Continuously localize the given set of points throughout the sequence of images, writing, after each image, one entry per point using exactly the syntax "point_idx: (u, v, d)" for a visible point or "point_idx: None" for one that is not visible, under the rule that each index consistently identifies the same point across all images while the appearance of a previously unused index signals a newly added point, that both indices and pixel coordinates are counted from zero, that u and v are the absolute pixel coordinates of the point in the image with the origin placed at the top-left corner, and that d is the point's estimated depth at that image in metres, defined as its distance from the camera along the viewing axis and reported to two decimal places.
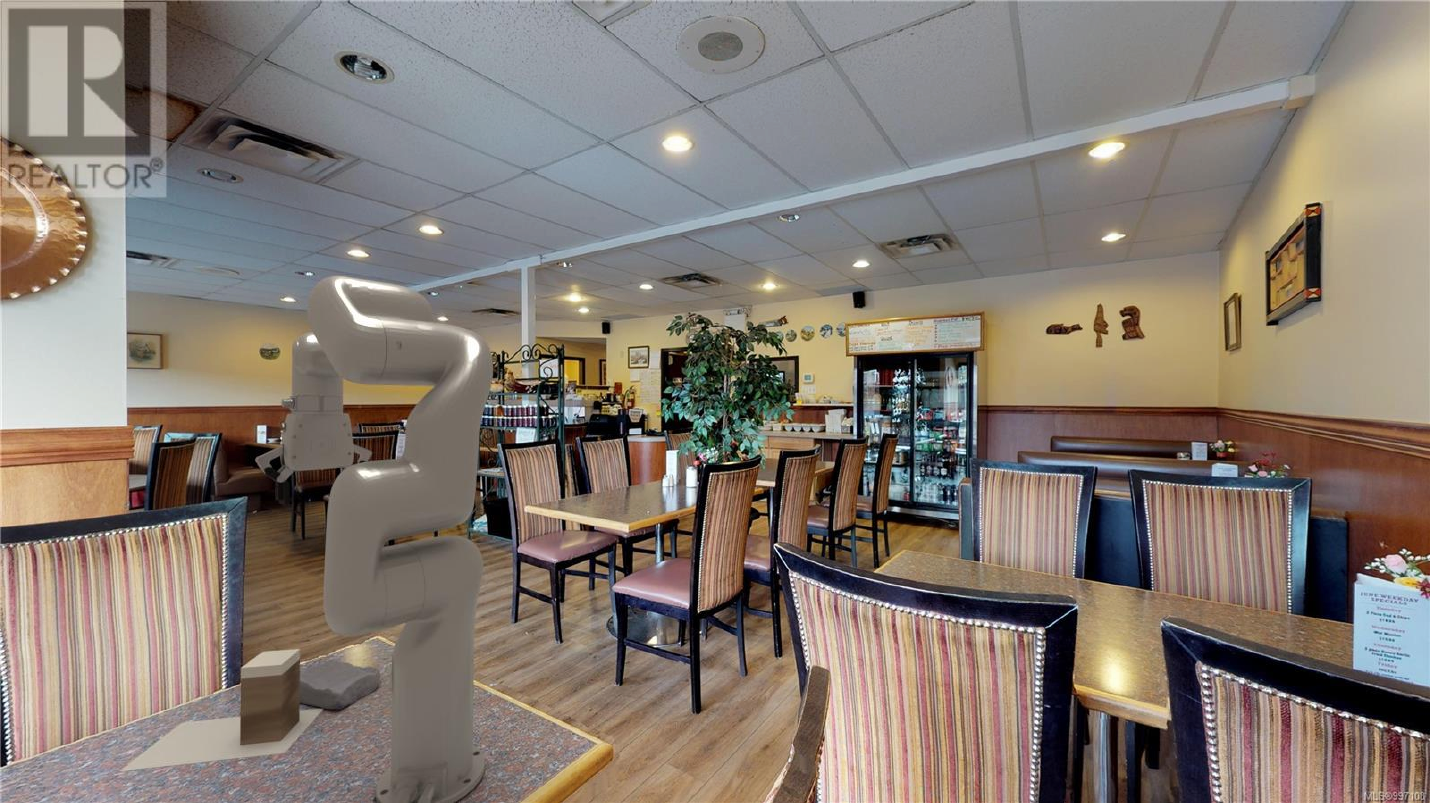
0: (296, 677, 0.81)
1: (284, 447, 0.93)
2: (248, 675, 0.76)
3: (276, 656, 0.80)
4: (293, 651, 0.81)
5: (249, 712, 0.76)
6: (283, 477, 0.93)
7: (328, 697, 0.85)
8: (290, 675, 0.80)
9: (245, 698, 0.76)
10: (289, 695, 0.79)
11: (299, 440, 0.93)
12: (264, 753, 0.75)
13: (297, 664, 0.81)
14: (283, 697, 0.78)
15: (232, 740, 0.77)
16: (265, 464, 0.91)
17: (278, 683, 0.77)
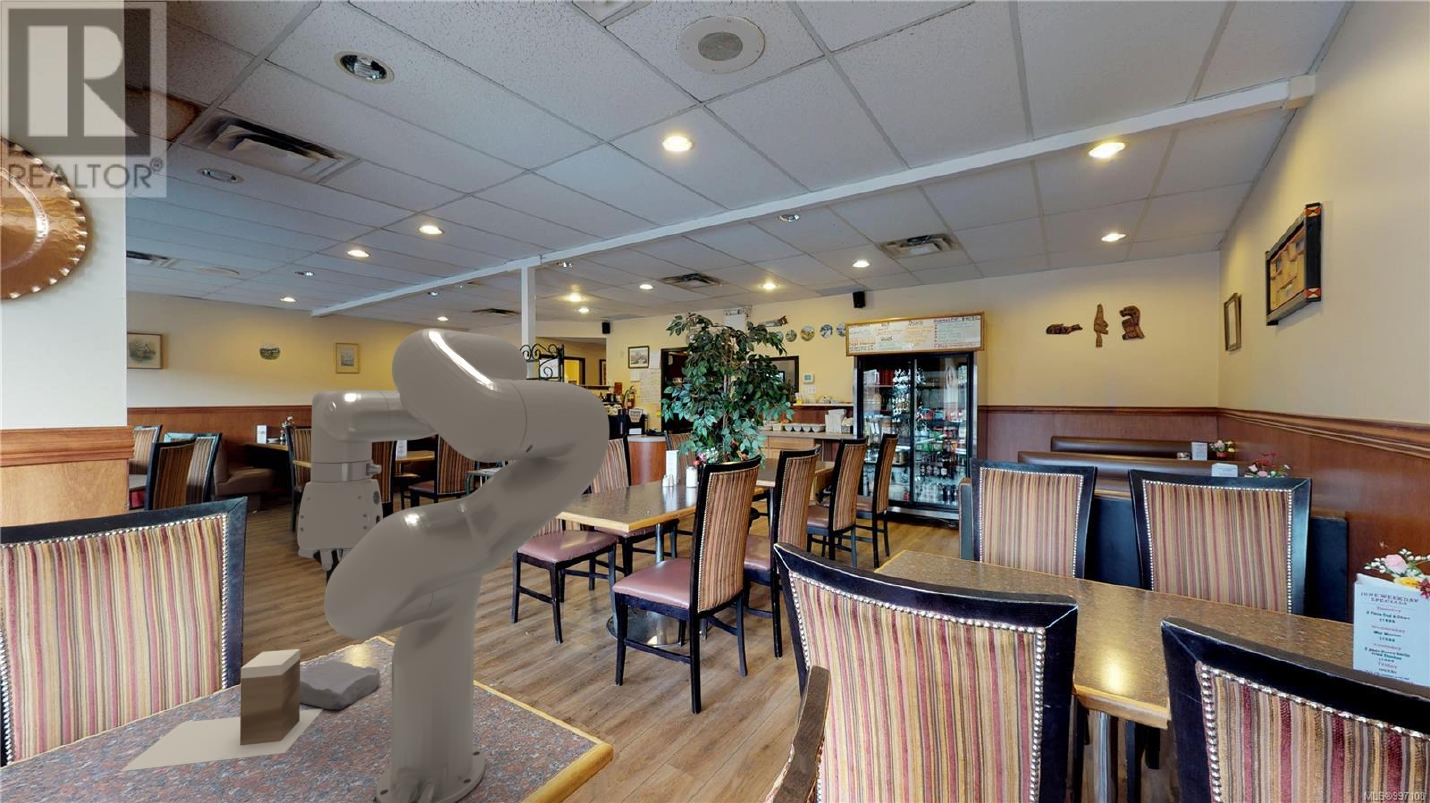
0: (296, 677, 0.81)
1: (380, 517, 0.83)
2: (248, 675, 0.76)
3: (276, 656, 0.80)
4: (293, 651, 0.81)
5: (249, 712, 0.76)
6: None
7: (328, 697, 0.85)
8: (290, 675, 0.80)
9: (245, 698, 0.76)
10: (289, 695, 0.79)
11: None
12: (264, 753, 0.75)
13: (297, 664, 0.81)
14: (283, 697, 0.78)
15: (232, 740, 0.77)
16: None
17: (278, 683, 0.77)
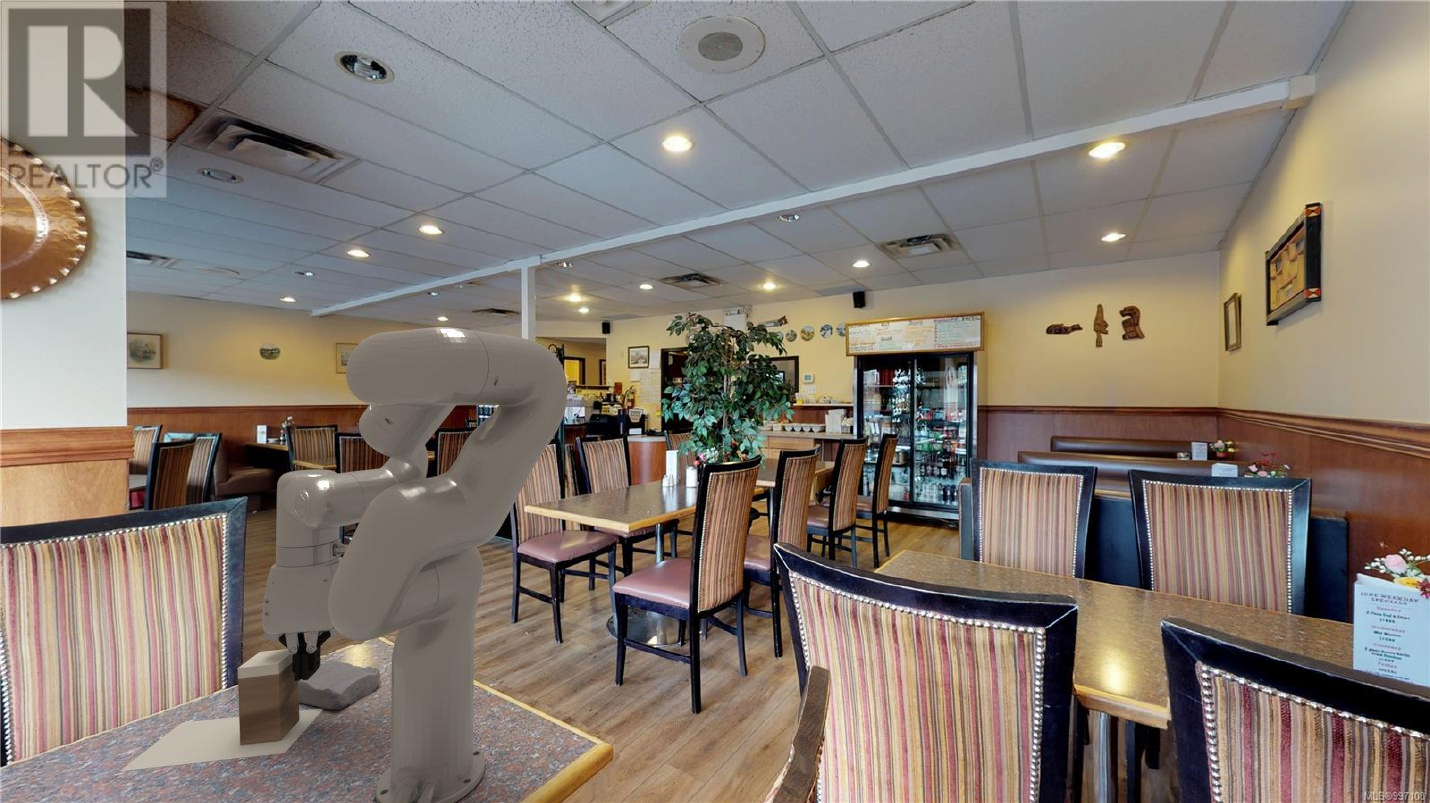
0: None
1: None
2: (245, 675, 0.76)
3: (272, 655, 0.80)
4: None
5: (248, 711, 0.76)
6: None
7: (328, 697, 0.85)
8: (288, 674, 0.80)
9: (243, 698, 0.76)
10: (287, 694, 0.79)
11: None
12: (264, 753, 0.75)
13: None
14: (281, 696, 0.78)
15: (232, 740, 0.77)
16: None
17: (275, 682, 0.77)
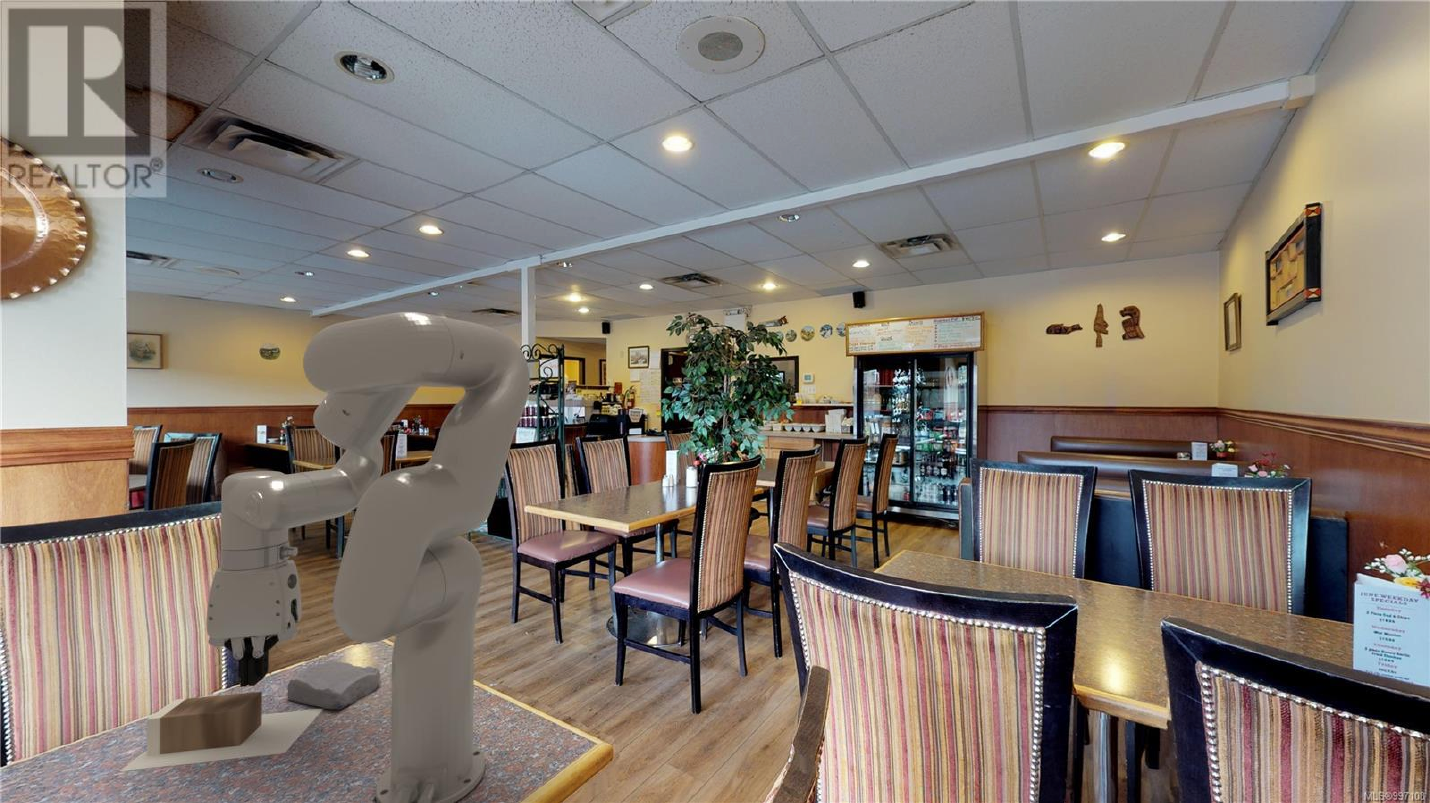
0: (201, 700, 0.79)
1: (297, 600, 0.81)
2: (157, 747, 0.74)
3: None
4: None
5: (201, 741, 0.75)
6: None
7: (328, 697, 0.85)
8: (183, 707, 0.77)
9: (184, 747, 0.75)
10: (206, 705, 0.77)
11: None
12: (264, 753, 0.75)
13: (187, 700, 0.78)
14: (192, 712, 0.75)
15: None
16: None
17: (169, 719, 0.74)
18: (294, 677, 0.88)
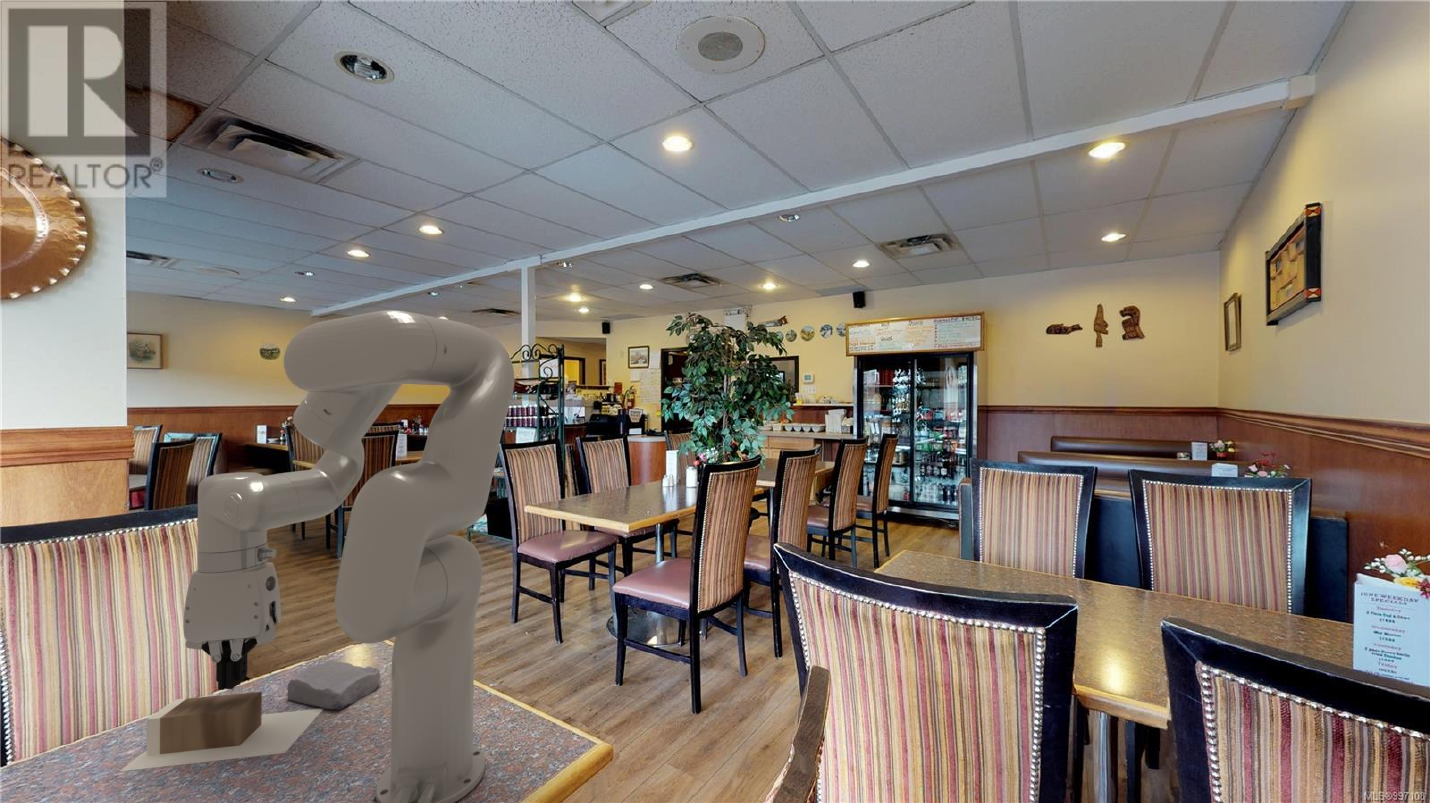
0: (201, 700, 0.79)
1: (276, 602, 0.80)
2: (157, 747, 0.74)
3: None
4: None
5: (201, 741, 0.75)
6: None
7: (328, 697, 0.85)
8: (183, 707, 0.77)
9: (184, 747, 0.75)
10: (206, 705, 0.77)
11: None
12: (264, 753, 0.75)
13: (187, 700, 0.78)
14: (192, 712, 0.75)
15: None
16: None
17: (169, 719, 0.74)
18: (294, 677, 0.88)
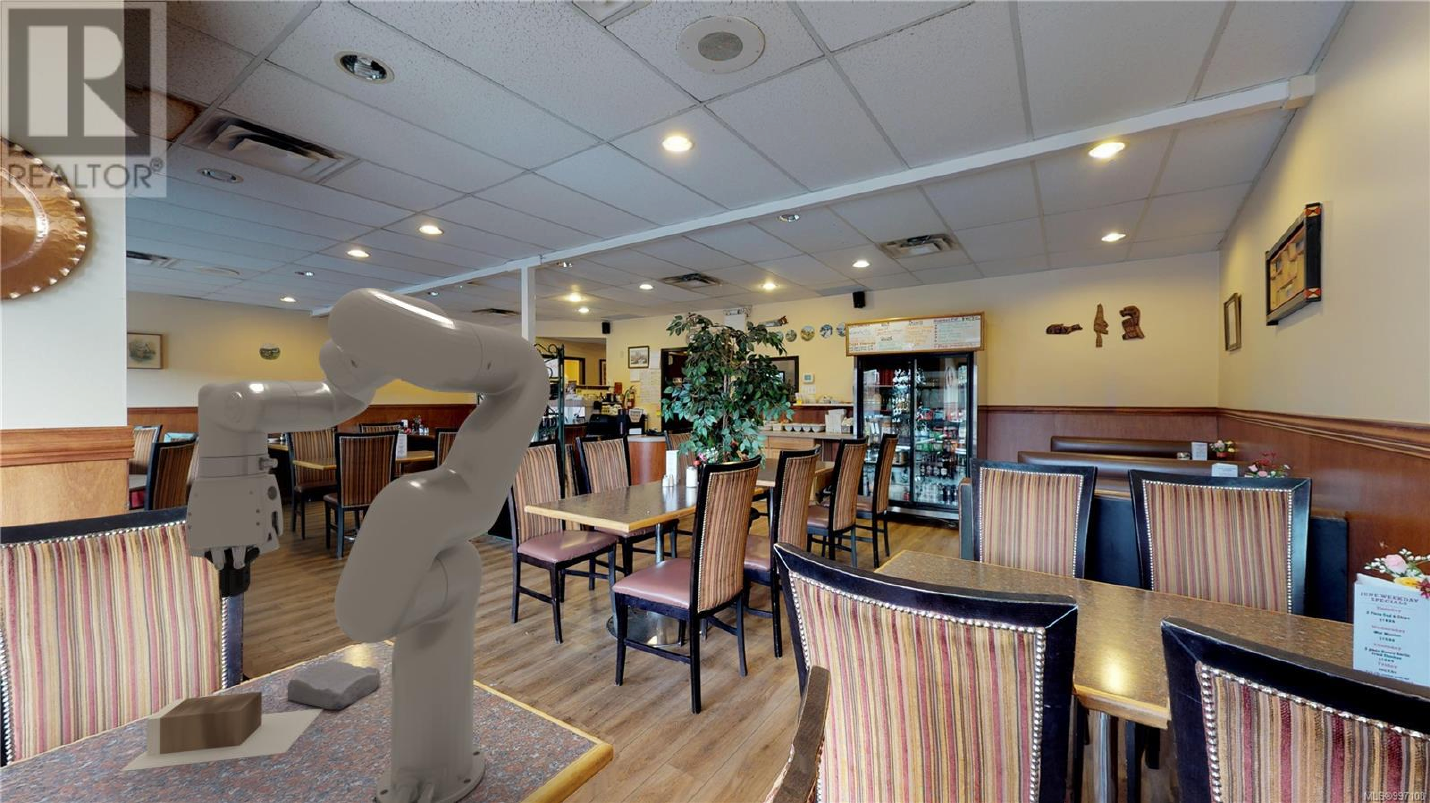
0: (201, 700, 0.79)
1: (278, 513, 0.80)
2: (157, 747, 0.74)
3: None
4: None
5: (201, 741, 0.75)
6: None
7: (328, 697, 0.85)
8: (183, 707, 0.77)
9: (184, 747, 0.75)
10: (206, 705, 0.77)
11: None
12: (264, 753, 0.75)
13: (187, 700, 0.78)
14: (192, 712, 0.75)
15: None
16: None
17: (169, 719, 0.74)
18: (294, 677, 0.88)
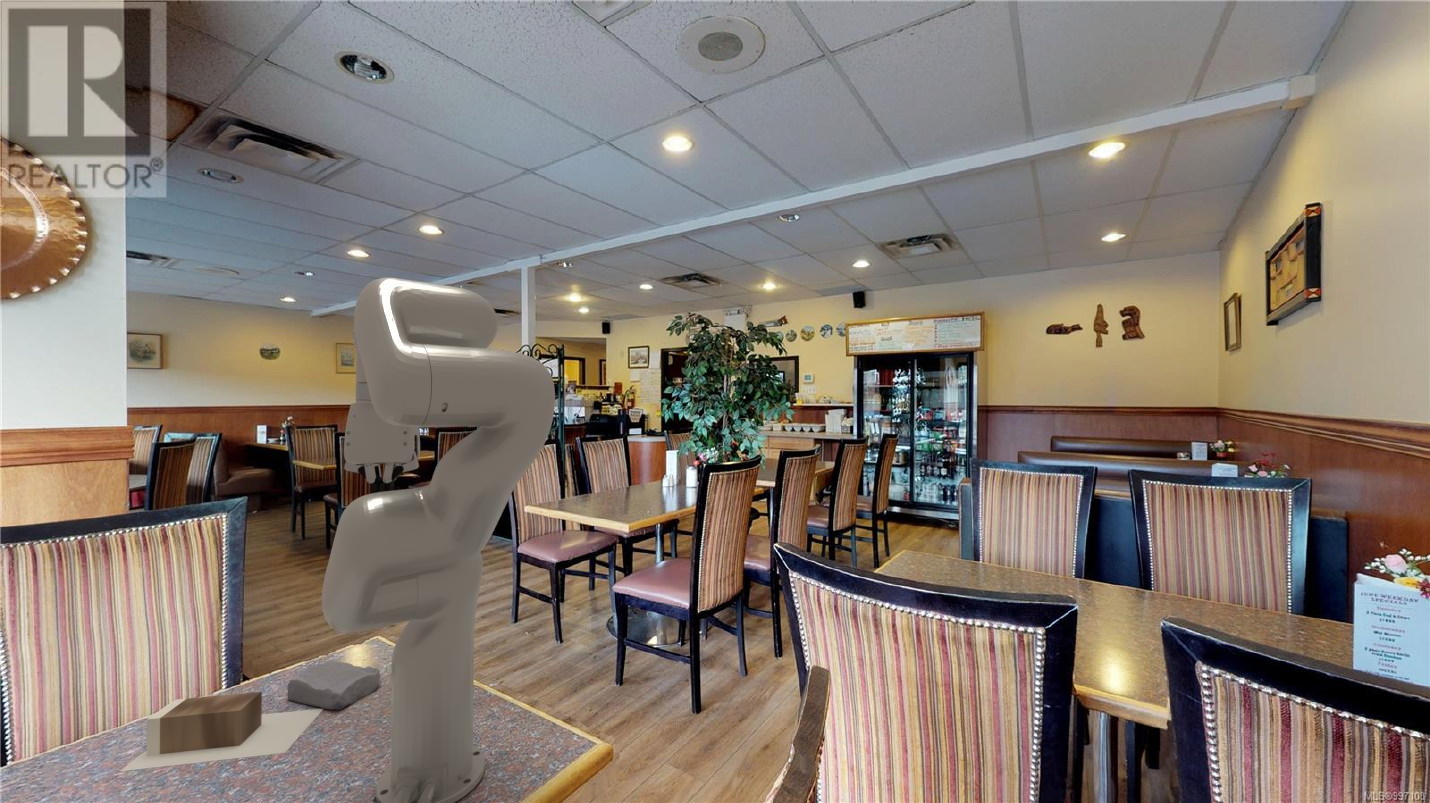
0: (201, 700, 0.79)
1: (418, 437, 0.91)
2: (157, 747, 0.74)
3: None
4: None
5: (201, 741, 0.75)
6: None
7: (328, 697, 0.85)
8: (183, 707, 0.77)
9: (184, 747, 0.75)
10: (206, 705, 0.77)
11: None
12: (264, 753, 0.75)
13: (187, 700, 0.78)
14: (192, 712, 0.75)
15: None
16: None
17: (169, 719, 0.74)
18: (294, 677, 0.88)
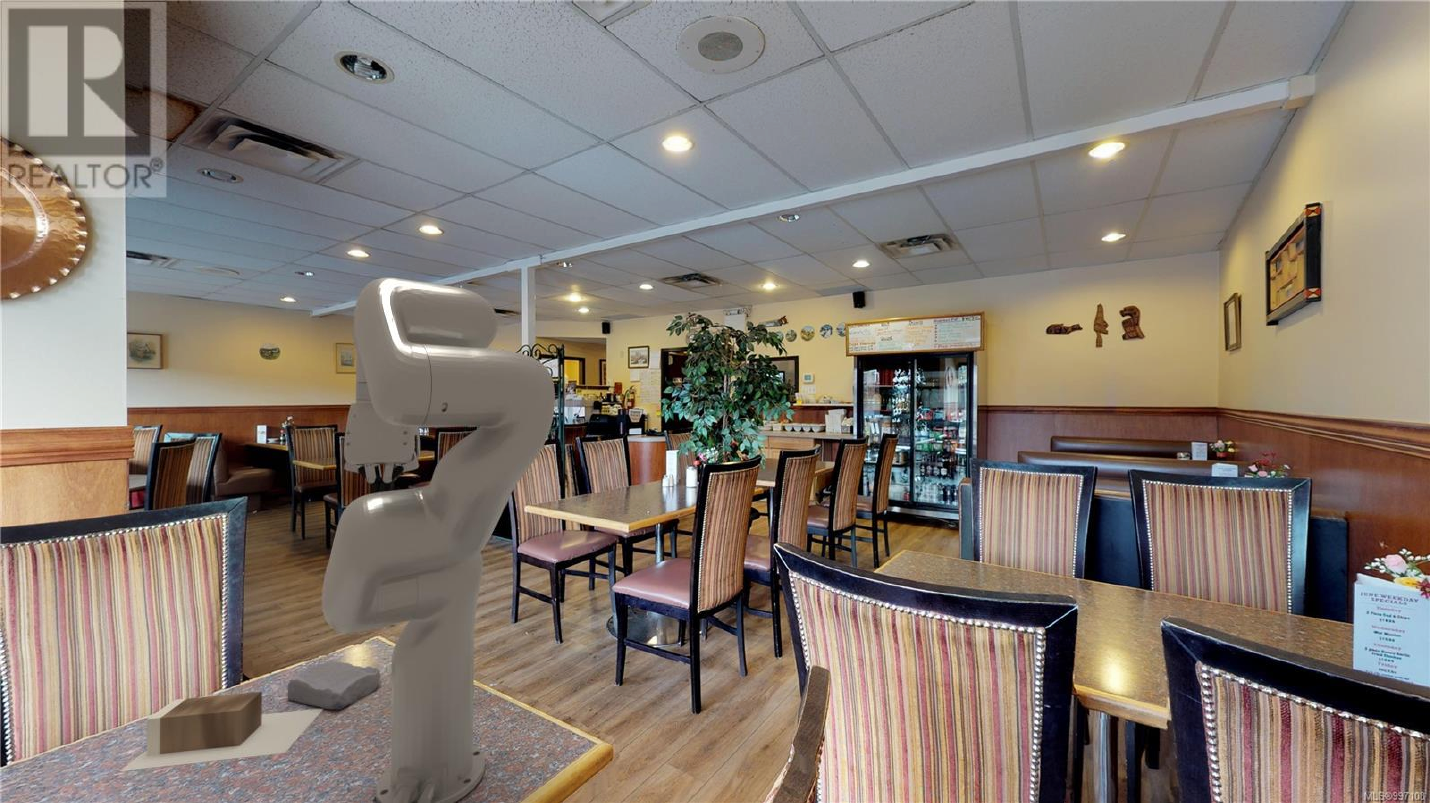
0: (201, 700, 0.79)
1: (418, 437, 0.91)
2: (157, 747, 0.74)
3: None
4: None
5: (201, 741, 0.75)
6: None
7: (328, 697, 0.85)
8: (183, 707, 0.77)
9: (184, 747, 0.75)
10: (206, 705, 0.77)
11: None
12: (264, 753, 0.75)
13: (187, 700, 0.78)
14: (192, 712, 0.75)
15: None
16: None
17: (169, 719, 0.74)
18: (294, 677, 0.88)
